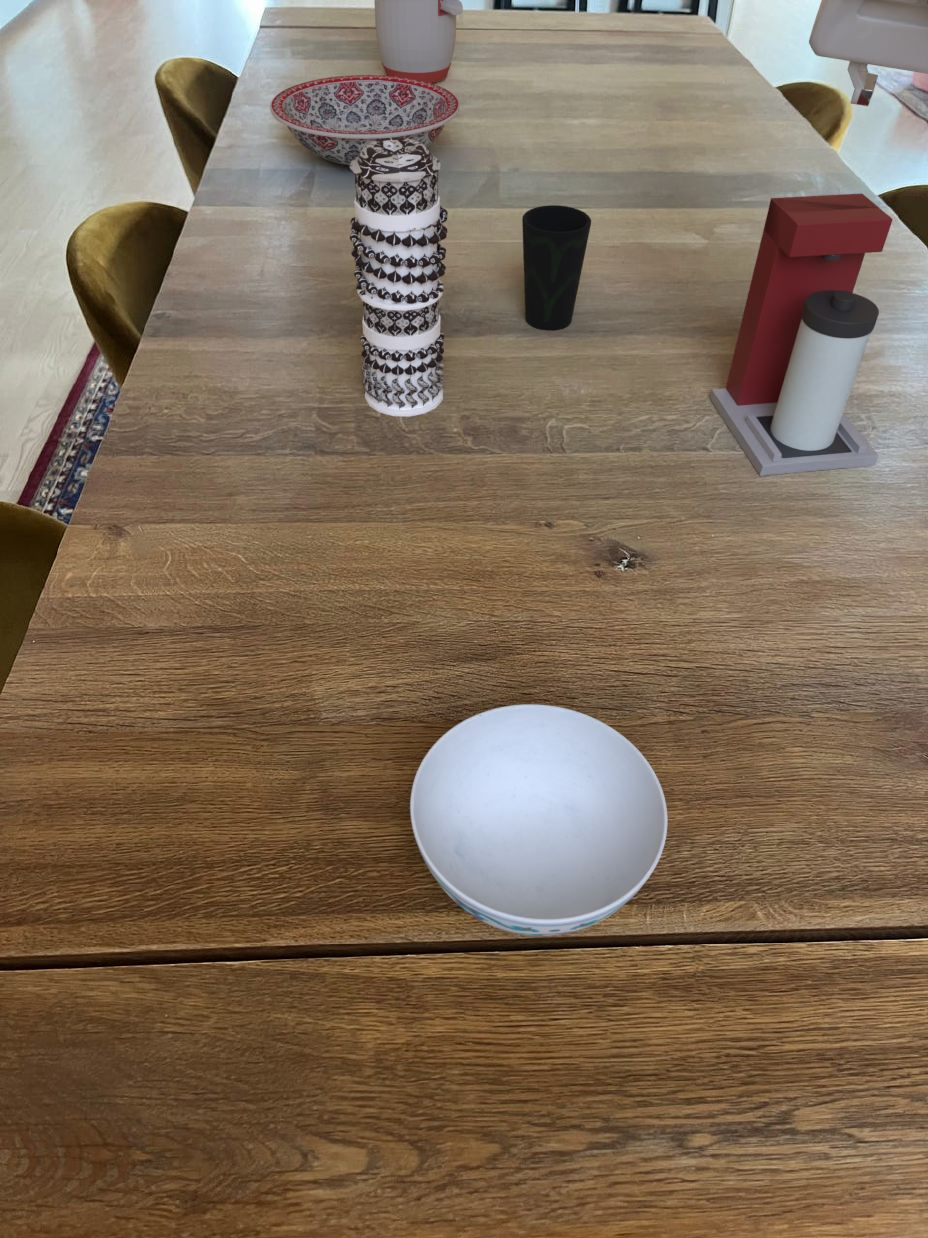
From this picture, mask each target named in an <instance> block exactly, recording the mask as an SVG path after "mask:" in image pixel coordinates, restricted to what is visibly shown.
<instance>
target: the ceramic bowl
mask: <svg viewBox="0 0 928 1238" xmlns="http://www.w3.org/2000/svg"><path fill="white" fill-rule="evenodd" d="M460 109H461V104H460V99H458V97H457V96H456V95H455V93H453V92H451V91H450V90H448V89H447V88H444V87H442V86H440V85H438V84H434V83H428V82H425V81H420V80H416V79H410V78H404V77H395V76H387V75H383V74H381V75H380V74H378V75H377V74H355V75H353V74H352V75H340V76H331V77H323V78H319V79H313V80H309V81H304V82H301V83H298V84H296V85H293V86H291V87H288V88H285V89H284V90H282V91H280V92H279V93H277V94H276V95H275V96H274V97H273V98H272V100H271V102H270V104H269V110H270V113H271V115H272V116H273V118H274V119H275V120H276V121H277V122H279V123H280V124H282V125H283V126H286V127H287V128H288V130H289V131H290V132H291V134H292V135H293V137H294V138H295V139H296V140H297V141H298V142H299V144H301V145H302V146H304V148H305V149H307V150H308V151H309V152H310V153H313V154H314V155H315V156H317V157H320V158H321V159H323V160H326V161H329V162H331V163H335V164H340V165H345V166H350V164H351V161H352V160H354V159H355V158H357V157H358V156H359V155H360V153H361V151H362V149H363V147H364V146H365V145H367V144H368V143H370V142H372V141H375V140H379V139H383V138H407V139H412V140H415V141H418V142H420V143H422V144H423V145H424V146H425V147H426V148H427V149H428V148H429V147H430V146H431V145H433V143H434V142H435V141H436V139H438V137H439V135H440V134H441V132H442V131H443V129H444V127H445V125H446V124H448V123H450V122H451V121H453V120H454V119H455V118H456V117H457V116H458V115H459V112H460Z"/></svg>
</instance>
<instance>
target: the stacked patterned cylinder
mask: <svg viewBox="0 0 928 1238" xmlns="http://www.w3.org/2000/svg"><path fill="white" fill-rule="evenodd" d="M441 164H442V163H441V162H440V161H439V160H438V158H436V157H435V156H433V155H432V154H431V152H430V151H429V148H428V147H427V148H426V147H425V146H424V145H423V144H422V143H420V142H418V141H415V140H412V139H407V138H383V139H379V140H375V141H372V142H370V143H368V144H367V145H365V146H364V147H363V149H362V151H361V153H360V155H359V156H358V157H357V158H355V159H354V160H352V161H351V164H350V165H349V169H350V170H351V171H352V172H353V174H354V176H355V177H354V178H355V179H354V188H355V192H356V194H355V197H354V201H353V204H354V217H352V218H351V219H350V223H349V224H350V226H351V228H350V231H351V233H350V235H349V240H350V241H351V242H352V246H353V248H352V249H351V252H350V253H351V256H352V257H354V263H355V270H354V272H353V275H354V277H355V278H356V281H357V284H356V285H355V290H356V293H357V295H358V296H359V298H360V300H361V301H362V309H363V316H362V322H361V324H362V331H361V336H360V338H359V341H360V343H361V344H362V349H361V353H360V354H361V355H360V356H361V357H363V365H362V367H361V372H362V374H363V376H364V378H363V380H362V387H364V389H365V392H364V399H365V401H366V403H367V405H368V407H370V408H372V409H373V410H375V411H376V412H378V413H379V414H384V415H387V416H391V417H406V418H407V417H408V418H409V417H415V416H419V415H421V416H422V415H425V414H427V413H429V412H431V411H433V410H435V409H437V408H438V406H440V404H441V403H443V400H444V385H443V383H444V382H445V377H443V376H444V375H445V372H444V371H443V370H444V369H445V367H446V366H445V364H444V363H442V361H443V360H444V355H443V354H444V353H445V348H444V347H443V346H444V340H445V334H444V333H443V332H442V329H441V328H442V327H441V322H442V321H441V315H440V310H439V309H440V302H439V301H440V299H441V297H443V294H444V293H443V292H445V290H444V283H443V282H442V281H441V280H440V278H441V277H443V276H444V275H445V274H446V269H447V267H446V264H445V263H443V262H442V261H443V260H445V259H446V253H447V249H446V247H444V246H442V245H441V244H440V242H441V241H443V240H445V239H446V238H447V236H448V228H447V226H445V225H443V224H444V223H445V222H447V220H448V214H449V213H448V210H447V209H446V208H444V207H442V205H441V196H440V195H439V171H440V170H441Z"/></svg>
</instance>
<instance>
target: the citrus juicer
mask: <svg viewBox="0 0 928 1238" xmlns="http://www.w3.org/2000/svg"><path fill="white" fill-rule="evenodd" d="M463 12H464V7H463V3H462V1H461V0H374V22H375V34H376V42H377V47H378V53H379V56H380V59H381V65H382V68H383V70H384V73H385V76H395V77H404V78H410V79H416V80H420V81H425V82H428V83H432V84H434V83H437V82H441V81H443V80H445V79H446V78H447V76H448V74H449V71H450V69H451V65H452V60H453V56H454V52H455V45H456V38H457V16H459V15H461V14H462V13H463Z"/></svg>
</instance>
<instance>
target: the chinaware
mask: <svg viewBox="0 0 928 1238" xmlns="http://www.w3.org/2000/svg"><path fill="white" fill-rule="evenodd" d="M415 773H416V774H415V776H414V779H413V782H412V786H411V792H410V798H409V799H410V801H409V813H410V823H411V828H412V832H413V836H414V839H415V843H416V845H417V847H418V850H419V853H420V855H421V857H422V859H423V861H424V863H425V865H426V867H427V869H428V870H429V872H430V873H431V875H432V877H433V878H434V879H435V881H436V882H437V884H438V885H439V886H440V888H441V889H442V890H443V891H444V892H445V894H446V895H447V896H448V897H449V898H450V899H451V900H452V901H453V902H455V903H456V904H457V906H458V907H460V908H462V909H463V910H464V911H466V912H467V913H468V914H470V915H471V916H473V917H474V918H476V919H478V920H479V921H481V922H483V923H484V924H487V925H489V926H491V927H493V928H496V929H499V930H501V931H505V932H508V933H512V934H517V935H521V936H528V937H529V936H531V937H552V936H561V935H566V934H570V933H574V932H578V931H581V930H583V929H587V928H589V927H591V926H592V927H593V926H594V925H596V924H598V923H600V922H602V921H604V920H605V919H607V918H609V917H610V916H612V915H613V914H615V913H616V912H618V911H619V910H620V909H621V908H622V907H624V906H625V905H626V904H627V903H628V902H629V901H631V899H633V897H634V896H635V895H636V894H637V893H638V892H639V891H640V890H641V889H642V887H643V886H644V885H645V884H646V882H647V881H648V880H649V878H650V877H651V875H652V874H653V873H654V870H655V869H656V867H657V865H658V863H659V861H660V859H661V856H662V854H663V850H664V848H665V844H666V840H667V835H668V823H669V822H668V807H667V802H666V797H665V794H664V790H663V788H662V785H661V782H660V780H659V778H658V776H657V774H656V773H655V771H654V769H653V767H652V766H651V763H650V762H649V761H648V760H647V758H646V757H645V756H644V755H643V754H642V752H641V751H640V750H639V749H638V748H637V747H636V746H635V745H634V744H633V743H632V742H631V741H630V740H629V739H628V738H626V737H625V736H624V735H622V733H620V732H619V731H617V730H616V729H614V727H611V726H610V725H608V724H607V723H605V722H603V721H601V720H599V719H597V718H594V717H593V716H590V715H588V714H586V713H582V712H579V711H576V710H574V709H570V708H566V707H563V706H562V707H561V706H555V705H548V704H538V703H537V704H534V703H531V704H530V703H529V704H528V703H525V704H523V703H521V704H512V705H505V706H501V707H496V708H492V709H488V710H485V711H482V712H480V713H476V714H474V715H472V716H470V717H468V718H466V719H464V720H462V721H461V722H459V723H457V724H456V725H455V726H453V727H451V728H450V729H448V731H447V732H445V733H444V734H443V735H442V736H441V737H440V738H438V739H437V741H436V742H435V743H434V744H433V745H432V746H431V748H429V750H428V752H427V753H426V754H425V755H424V757H423V758H422V761H421V763H420V765H419V766H418V769H417V771H416V772H415Z"/></svg>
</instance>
